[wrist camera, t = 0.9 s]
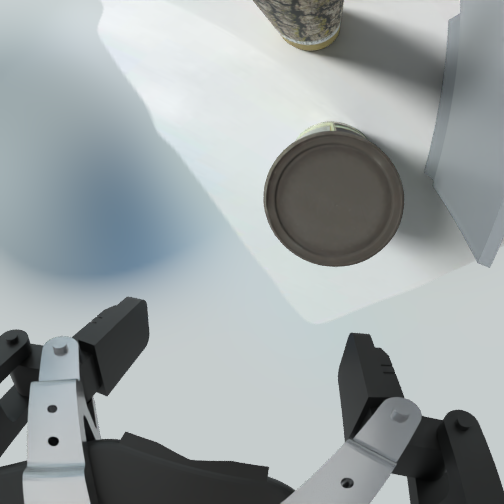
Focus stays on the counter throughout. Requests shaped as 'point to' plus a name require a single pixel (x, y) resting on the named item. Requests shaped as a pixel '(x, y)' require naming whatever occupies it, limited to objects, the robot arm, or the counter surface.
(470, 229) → the lid
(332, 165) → the coffee can
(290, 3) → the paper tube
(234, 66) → the counter surface
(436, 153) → the case
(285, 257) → the counter surface
